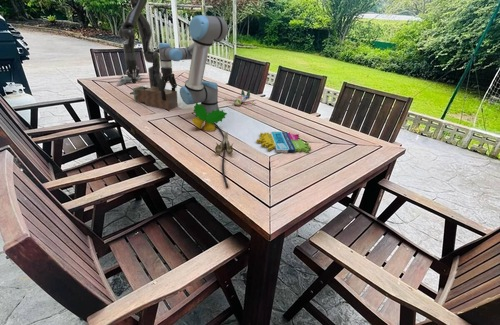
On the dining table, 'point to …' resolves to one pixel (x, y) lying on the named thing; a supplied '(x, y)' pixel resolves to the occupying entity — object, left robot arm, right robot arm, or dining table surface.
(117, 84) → the airplane
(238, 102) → the toy
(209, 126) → the ornament
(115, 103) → the dining table surface
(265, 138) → the sign
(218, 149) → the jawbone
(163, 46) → the right robot arm
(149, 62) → the left robot arm
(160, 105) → the large taupe box
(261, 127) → the dining table surface
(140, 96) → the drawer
